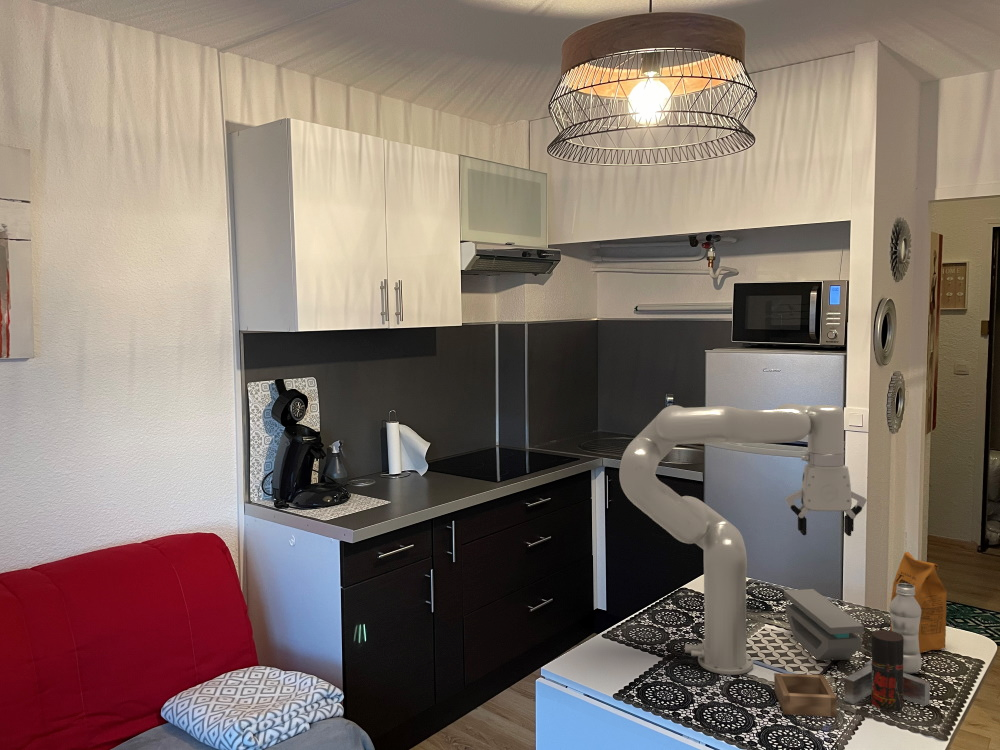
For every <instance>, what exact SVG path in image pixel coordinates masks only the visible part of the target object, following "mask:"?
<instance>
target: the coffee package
mask: <svg viewBox="0 0 1000 750" xmlns="http://www.w3.org/2000/svg"><path fill="white" fill-rule="evenodd" d="M937 570H939V566H938V564H937V563H933V562H927V561H923V560H918V559H915V558H914V556H913V555H912V554H911V553H910V552H909V551H905V552H904V554H903V556H902V558H901V561H900V563H899V566H898V570H897V571H896V574H895V577H894V581H893V584H892V590H891V591H892V592H891V598H890V602H891V601H892V600H893V599H894V598H895V597H896V596H897V593H896V590H897V584H900V583H905V584H911V585H913V586H915V596H914V598H915V599H916V600H917V602H918V604H919V605H920V607H921V618H920V624H919V633H918V634H919V636H918V639H919V650H920V654H922V653H924V652H925V653H926V652H929V651H932V650H936V651H939V650H940V651H941V650H942V649H945V648H946V636H947V632H946V631H947V630H946V629H947V628H946V627H947V600H948V599H947V595H948V593H947V591H946V589H945V587H944V584H943V583H942V581H941V578H940V577H939V576H938V574H937ZM889 619H891V617H890V618H889ZM889 628H890V630H889V631H892V623H891V622H890V627H889Z"/></svg>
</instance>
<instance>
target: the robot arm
mask: <svg viewBox="0 0 1000 750" xmlns="http://www.w3.org/2000/svg"><path fill="white" fill-rule="evenodd" d="M806 437H807V451H806V453H805V454H801V456H800V459H801V461H802V462H803V461H805V462H806V463H807V464H805V465H804V469H803V473H802V480H801V489H799V490H798V491H796V492H793V493H792V494H791V493H790V494H789V495H787V496H786V497H785V501H786V503H787V505H788V507H789V508H790V510H792V512H794V514H795V515H797V530H798V531H799V532H800V533H801V535H803V536H806V535H807V518H806V515H807V514H808V513H809V512H810V511H811V512H844V513H845V515H844V517H843V518H844V519H843V526H844V528H843V530H844V531H843V532H844V534H845V535H847V536H848V537H851V536H852V532H854V521H855V518H856V517H857V515H858V514H860V513H861V512H862V510H863V508H864V507H865V505H866V502H867V499H866V498H865V497H864V496H862V495H860V494H858V493H856V492H854V491H853V490H852V487H851V485H852V484H851V477H850V471H849V467H848V466H847V465H845V463H844V461H845V447H844V446H845V445H844V444H845V413H844V409H843V408H842V407H841V406H840V405H839V406H838V405H833V404H817V405H806V404H798V403H783V404H781V405H779V406H777V407H776V408H774V409H761V410H760V409H759V410H757V409H744V408H738V407H734V406H729V405H717V406H714V405H713V406H712V405H711V406H701V407H699V406H698V407H683V406H682V405H681V406H680V405H676V404H674V405H668V406H667V407H664V408H663V409H662V410H661V411H660V412H659V413H658V414H657V415H656V416H655V417H654V418H653V419H652V421H650V422H649V423H648V424H647V426H645V428H644V429H642V431H640V432H639V434H637V435H636V436H635V437H634V438H633V440H632V441H631V442H630V443H628V445H627V446H626V449H625V450H624V451H623V454H622V457H621V461H620V466H619V473H618V475H619V483H620V487H621V489H622V491H623V493H624V494H625V496H626V497H627V499H628V500H629V501H630V502H631V503H632V504H633V505H634V506H636V507H637V508H638V509H639V510H641V512H642V513H644V514H645V515H647V516H648V517H649V518H650V519H651V520H652V521H654V522H655V523H656V524H658V525H659V526H660V527H662V529H664V530H665V531H666V532H667V533H669V534H670V535H671V536H672V537H673V538H674V539H676V540H677V541H679V542H681V543H684V544H687V545H691V544H695V545H697V547H699V548H701V549H702V550H703V599H704V639H702V641H701V642H702V643H698V644H692V643H691V644H687V643H685V644H684V652H685V653H688V654H690V656H691V657H697V662H698V665H700V667H702V668H703V669H704V670H706V671H709V672H710V673H711V672H712V673H715V674H719V675H726V676H737V675H744V674H746V673H749V672H750V671H752V670H753V668H754V660H753V658H752V657H751V656H750V655H748V654H747V570H748V565H747V564H748V557H747V555H748V554H747V550H746V545H745V540H744V537H743V535H742V533H741V532H740V531H739V529H738V528H737V527H736V526H735V525H734V524H732V523H731V522H730V521H729V520H728V519H726V518H724V517H723V516H722V515H720V514H719V513H718V512H717V511H716V510H714V508H713V509H712V508H711V507H710V506H709V505H708V504H706V503H704V502H703V501H702V500H700V499H699V498H697V497H694V496H689V495H684V496H681V495H679V493H677V492H676V491H674V490H673V489H672V488H671V487H670V486H668V485H667V484H665V483H664V482H662V481H661V480H659V478H658V477H657V476H656V472H657V468H658V466H659V463H660V462H661V461H662V460H663V459H664V458H665V457H666V456H667V455H668V454H669V453H670V452H671V451H672V450H673V449H674V448H675V447H676V446H677V445H691V444H692V445H693V444H695V445H696V444H711V443H712V444H715V443H716V444H717V443H718V444H719V443H730V444H731V443H733V444H783V443H785V444H786V443H794V442H799V441H801V440H804V439H805V438H806ZM798 499H800V503H801V506H799V507H798V506H796V505H795V501H796V500H798ZM852 499H853V500H856V501H857V502H856V504H855V505H854V506H853V507H852Z"/></svg>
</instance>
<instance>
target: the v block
mask: <svg viewBox="0 0 1000 750" xmlns="http://www.w3.org/2000/svg"><path fill="white" fill-rule="evenodd" d="M843 680H844V681H843V682H844V684H843V685H844V687H843V688H844V689H843V690H844V691H843V694H844V695H843V696H844V697H843V698H844V699H843V701H844V702H846V703H848V704H851V705H855V704H857V703H858V702H860V701H862V700H864V699H865V698H867V697H869V696H870V695H871V696H872V659H870V660H869V661H867V662H865V663H864V667H863V668H861V669H859V670H857V671H855V672H853V673H852V674H849V675H848V676H846V677H844V679H843ZM930 683H931V681H929V680H925V679H924V678H923V679H922V678H920V677H917V676H915V675H911V674H908V673H903V699H904V700H903V701H905V700H907V701H906V702H908V701H910V702H909V703H911V702H913V703H917V704H920V705H923V706H926V705H928V704H929V705H930V700H931V699H930V698H931V697H930V690H931V689H930V688H931V687H930V686H931V684H930ZM913 703H912V704H913ZM929 705H928V706H929Z"/></svg>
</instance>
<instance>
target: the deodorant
mask: <svg viewBox="0 0 1000 750" xmlns="http://www.w3.org/2000/svg"><path fill="white" fill-rule="evenodd" d="M903 646H904V637H903V636H902V635H901V634H899V633H897V632H893V631H890V630H888V629H887V630H886V629H876V630H874V631H872V633H871V660H872V694H871V705H872V704H873V705H872V706H873V707H874V708H876V709H878V710H880V711H884V712H889V713H890V712H892V713H897V712H900V710H901V711H902V710H903V709H902V708H904V700H903Z"/></svg>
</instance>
